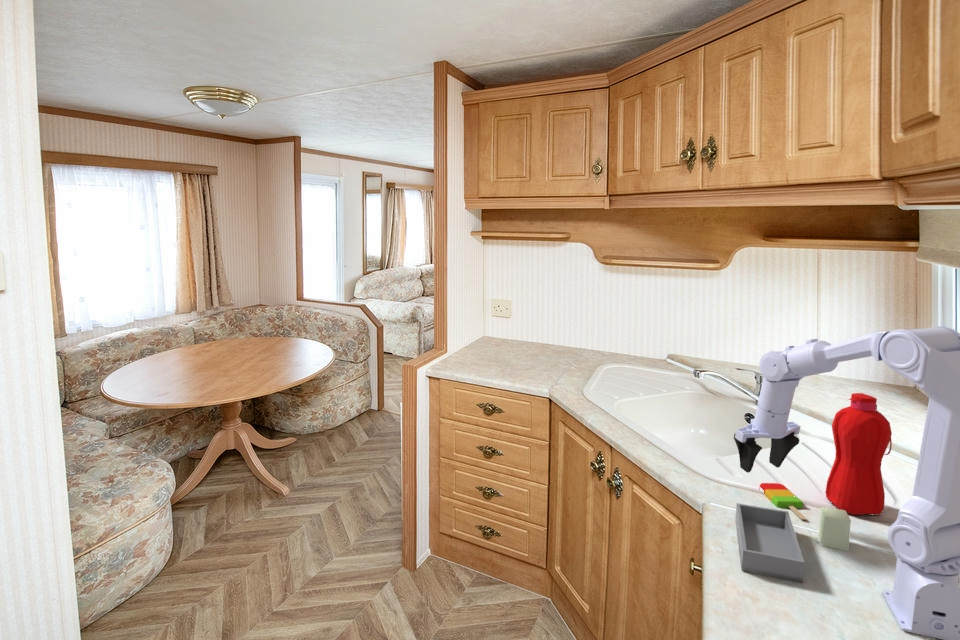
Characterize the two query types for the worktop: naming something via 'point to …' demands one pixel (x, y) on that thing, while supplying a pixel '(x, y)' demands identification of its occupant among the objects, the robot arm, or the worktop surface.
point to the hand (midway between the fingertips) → (759, 467)
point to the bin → (768, 543)
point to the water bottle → (859, 457)
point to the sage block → (834, 528)
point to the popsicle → (782, 497)
